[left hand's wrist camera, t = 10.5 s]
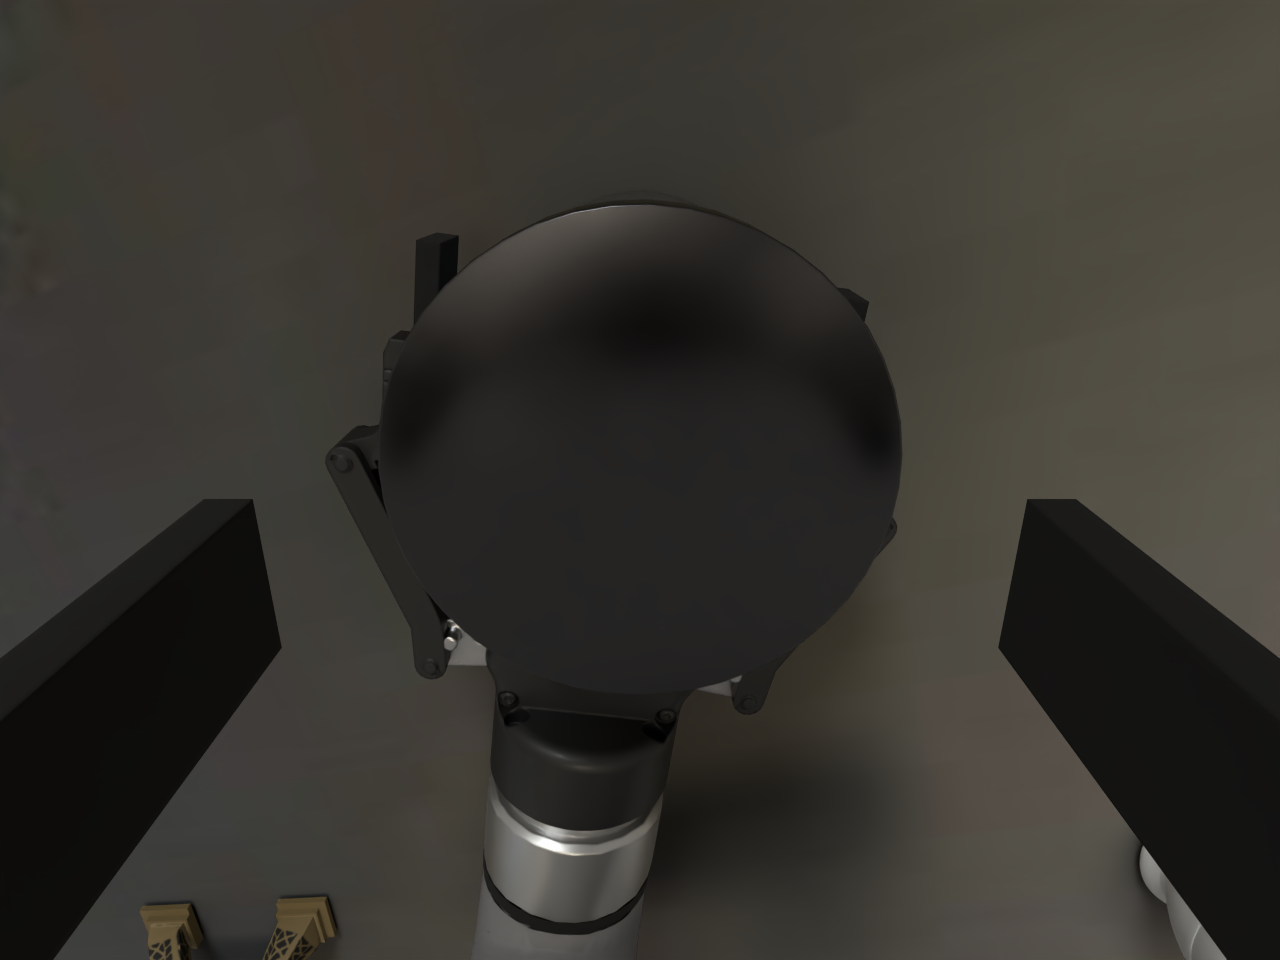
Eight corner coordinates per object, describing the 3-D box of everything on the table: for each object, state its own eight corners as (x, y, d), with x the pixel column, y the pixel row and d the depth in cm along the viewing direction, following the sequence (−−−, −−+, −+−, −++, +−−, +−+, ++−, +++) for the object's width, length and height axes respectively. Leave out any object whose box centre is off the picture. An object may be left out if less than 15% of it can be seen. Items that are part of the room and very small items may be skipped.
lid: (419, 643, 21) (398, 689, 19) (382, 189, 16) (351, 193, 15) (845, 655, 21) (864, 702, 19) (912, 208, 17) (944, 214, 15)
